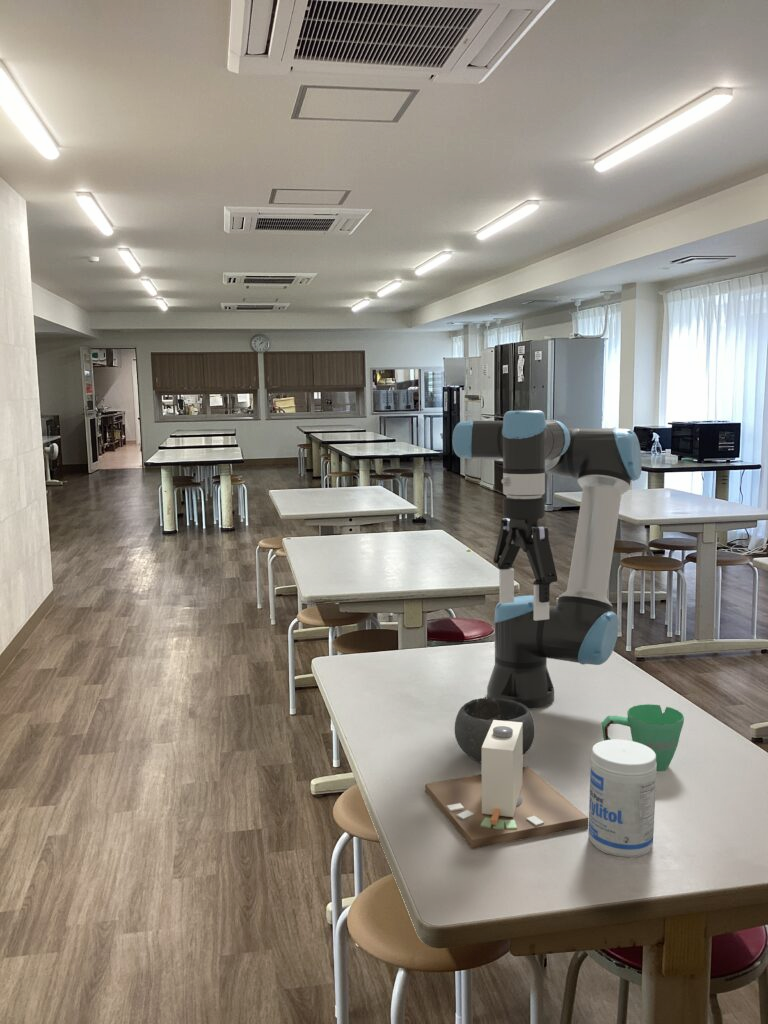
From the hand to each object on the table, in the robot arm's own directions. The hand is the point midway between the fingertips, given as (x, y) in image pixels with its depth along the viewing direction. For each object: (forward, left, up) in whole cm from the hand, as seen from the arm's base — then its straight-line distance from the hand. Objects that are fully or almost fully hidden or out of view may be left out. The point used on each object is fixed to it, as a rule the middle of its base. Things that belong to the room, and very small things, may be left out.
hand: (523, 610), depth 153 cm
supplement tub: (0, +32, -29) cm, 43 cm away
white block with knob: (+13, +18, -27) cm, 35 cm away
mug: (-19, +10, -29) cm, 36 cm away
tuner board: (+12, +16, -29) cm, 35 cm away
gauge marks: (+16, +20, -27) cm, 37 cm away
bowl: (+5, -2, -29) cm, 29 cm away
